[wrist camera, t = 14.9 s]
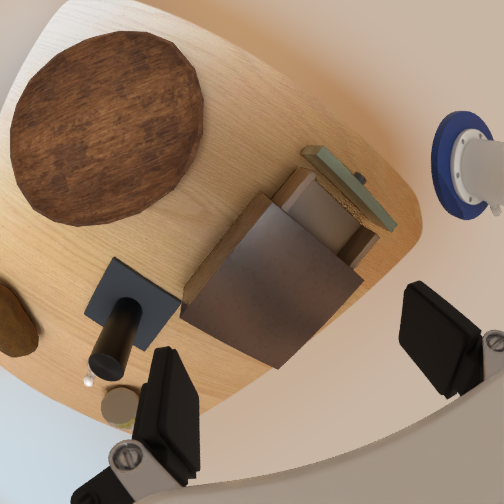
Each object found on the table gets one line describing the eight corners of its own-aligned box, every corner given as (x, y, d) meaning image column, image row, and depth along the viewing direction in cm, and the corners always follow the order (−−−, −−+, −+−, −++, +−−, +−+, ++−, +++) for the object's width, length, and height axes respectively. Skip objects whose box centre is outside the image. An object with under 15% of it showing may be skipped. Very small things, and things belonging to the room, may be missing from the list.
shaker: (147, 307, 33) (129, 367, 23) (134, 326, 34) (115, 386, 24) (122, 291, 32) (94, 347, 22) (110, 311, 33) (83, 368, 23)
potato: (22, 344, 34) (1, 377, 25) (-16, 286, 29) (-45, 312, 21) (49, 333, 33) (26, 369, 25) (7, 266, 29) (-26, 294, 21)
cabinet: (259, 190, 31) (272, 201, 25) (340, 258, 35) (364, 280, 29) (183, 287, 34) (179, 317, 28) (267, 337, 38) (278, 369, 32)
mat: (181, 300, 34) (181, 303, 34) (145, 349, 36) (144, 351, 36) (114, 256, 31) (112, 258, 31) (85, 311, 33) (83, 314, 32)
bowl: (216, 195, 30) (217, 204, 26) (47, 230, 28) (27, 243, 24) (196, 29, 23) (194, 10, 19) (27, 83, 21) (6, 78, 17)
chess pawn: (107, 368, 37) (99, 391, 32) (92, 369, 37) (84, 391, 32) (100, 355, 36) (91, 377, 31) (85, 356, 36) (75, 378, 31)
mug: (128, 421, 42) (100, 443, 32) (123, 375, 43) (90, 392, 33) (163, 430, 41) (139, 456, 31) (160, 383, 42) (132, 404, 32)
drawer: (313, 137, 29) (331, 136, 24) (381, 207, 33) (403, 216, 28) (229, 240, 32) (232, 256, 27) (307, 295, 36) (320, 315, 31)
